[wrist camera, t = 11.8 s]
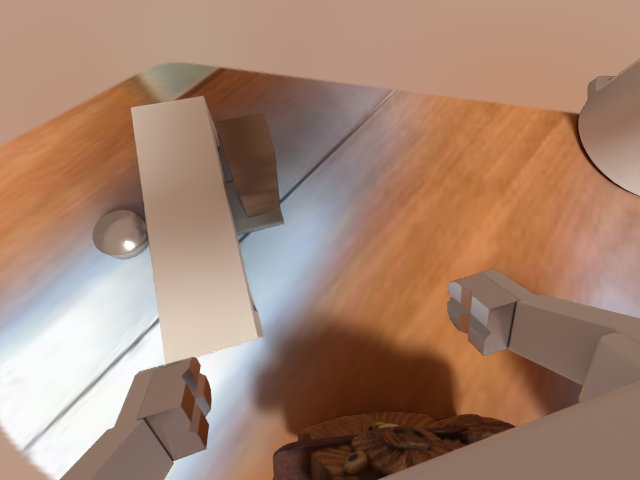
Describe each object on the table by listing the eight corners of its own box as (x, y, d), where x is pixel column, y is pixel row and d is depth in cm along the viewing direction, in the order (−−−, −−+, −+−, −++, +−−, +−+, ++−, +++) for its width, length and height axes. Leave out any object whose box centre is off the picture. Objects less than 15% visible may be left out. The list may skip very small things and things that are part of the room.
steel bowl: (148, 212, 27) (140, 204, 25) (156, 252, 26) (147, 247, 24) (101, 223, 26) (90, 216, 25) (107, 265, 25) (95, 260, 24)
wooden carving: (470, 384, 25) (582, 414, 15) (487, 448, 23) (621, 525, 14) (272, 417, 23) (257, 476, 13) (277, 489, 21) (264, 612, 12)
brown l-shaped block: (270, 178, 29) (259, 101, 20) (283, 223, 28) (278, 164, 18) (147, 206, 27) (69, 135, 18) (155, 257, 26) (75, 210, 16)
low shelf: (216, 130, 30) (203, 95, 26) (264, 337, 24) (257, 337, 20) (154, 141, 29) (130, 107, 25) (189, 360, 23) (165, 365, 19)
